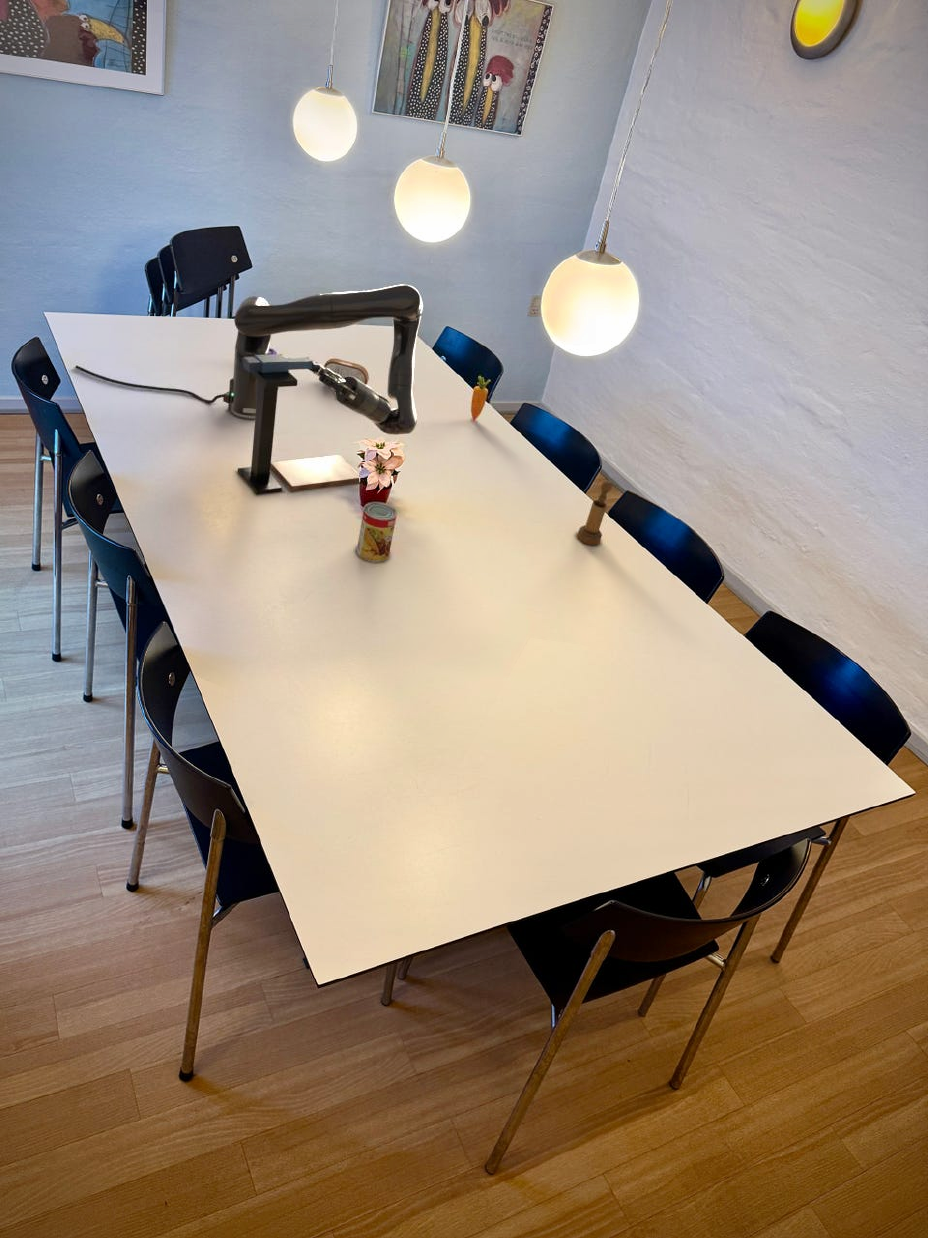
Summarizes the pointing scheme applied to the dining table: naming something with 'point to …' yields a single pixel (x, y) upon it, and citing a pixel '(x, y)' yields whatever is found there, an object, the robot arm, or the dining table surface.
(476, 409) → the carrot
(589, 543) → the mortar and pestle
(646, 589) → the dining table surface
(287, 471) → the board
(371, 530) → the canned food
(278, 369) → the stepped blue block
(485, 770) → the dining table surface
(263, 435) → the stand
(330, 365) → the tin
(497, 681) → the dining table surface
